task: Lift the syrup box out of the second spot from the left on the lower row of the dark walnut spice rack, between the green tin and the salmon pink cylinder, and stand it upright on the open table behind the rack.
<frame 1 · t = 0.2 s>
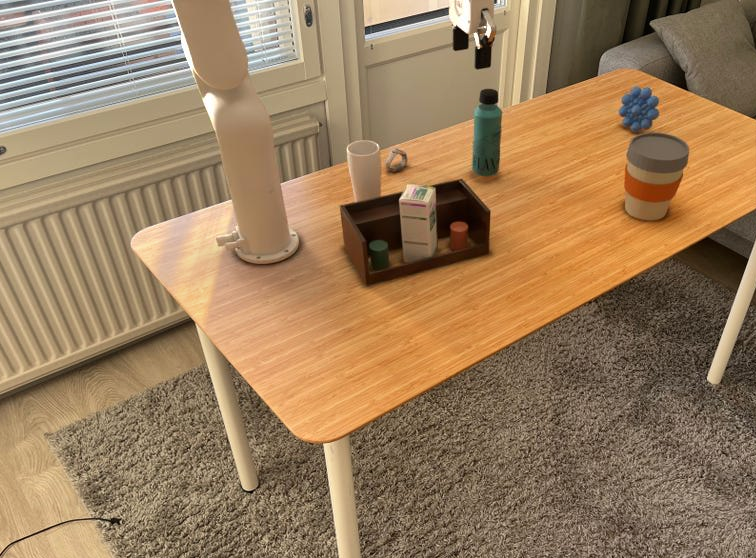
hand: (471, 58, 135), 31 cm above the table, tool pointing down, fingers open, 9 cm apart
spice rack: (416, 250, 143), on the table
salmon pink cylinder: (458, 246, 144), resting in spice rack
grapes: (636, 131, 183), on the table
green spice tin: (380, 266, 139), resting in spice rack
wristwatch: (396, 169, 167), on the table
syrup box: (420, 257, 142), resting in spice rack
drinking glass: (369, 212, 153), on the table
reusable coffee cup: (645, 210, 156), on the table
beverage bottle: (485, 176, 165), on the table
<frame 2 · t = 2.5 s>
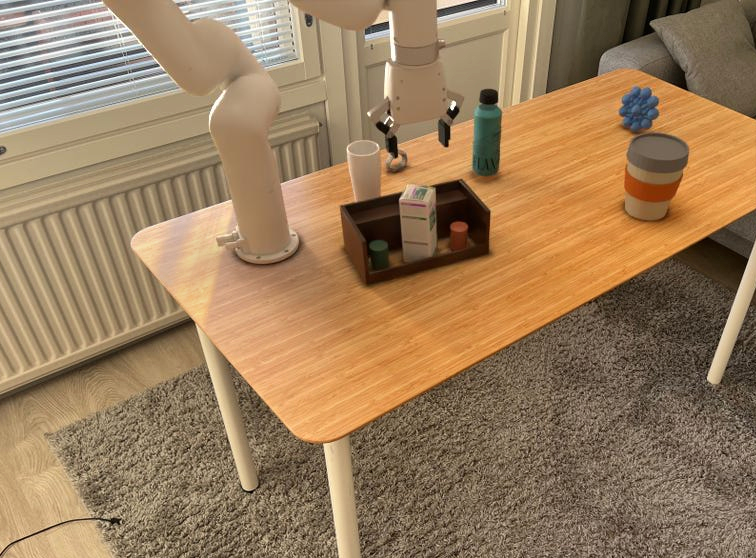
hand: (418, 149, 126), 23 cm above the table, tool pointing down, fingers open, 9 cm apart
nothing on the table moved.
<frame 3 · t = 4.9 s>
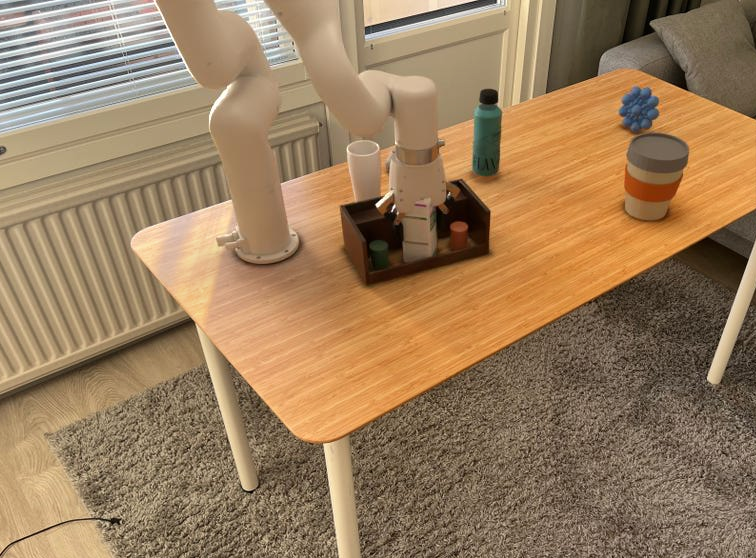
hand: (419, 233, 138), 6 cm above the table, tool pointing down, fingers closed on syrup box, 8 cm apart
syrup box: (420, 257, 142), resting in spice rack, touching gripper
everything else where it was.
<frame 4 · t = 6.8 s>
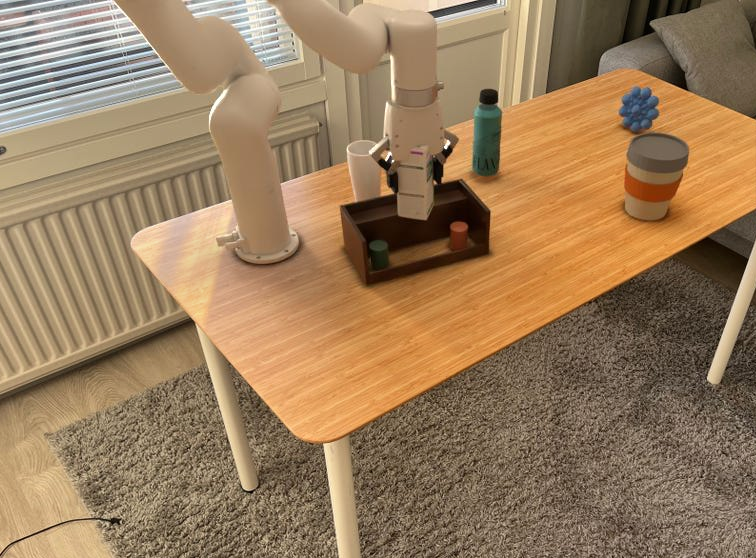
hand: (415, 185, 130), 16 cm above the table, tool pointing down, fingers closed on syrup box, 8 cm apart
syrup box: (415, 211, 134), point 10 cm above the table, touching gripper
everything else where it was.
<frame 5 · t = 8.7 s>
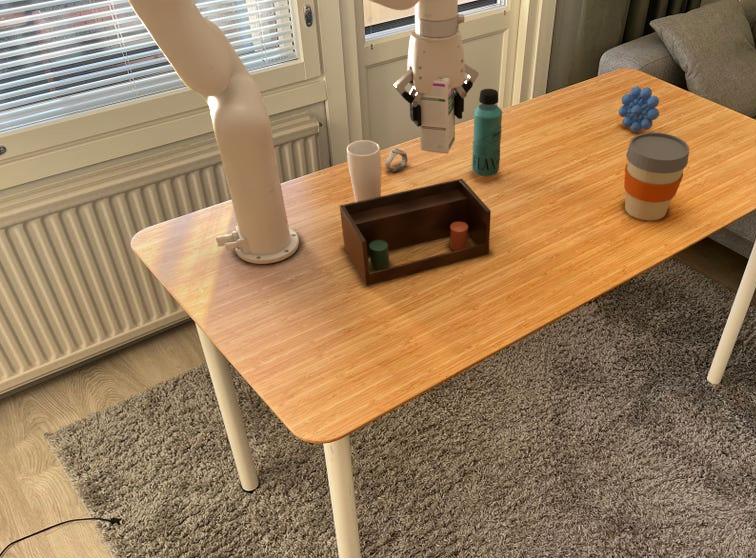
hand: (437, 119, 137), 22 cm above the table, tool pointing down, fingers closed on syrup box, 8 cm apart
syrup box: (437, 146, 141), point 16 cm above the table, touching gripper
everything else where it was.
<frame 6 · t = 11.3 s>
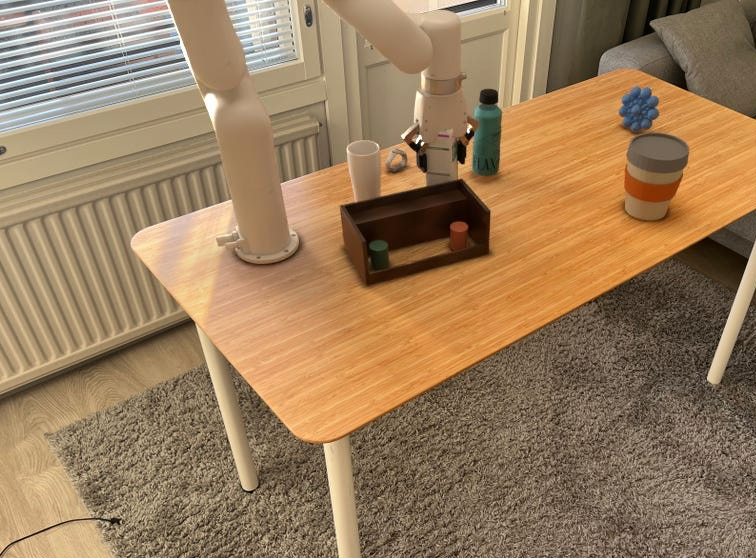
hand: (441, 165, 147), 10 cm above the table, tool pointing down, fingers closed on syrup box, 8 cm apart
syrup box: (441, 189, 151), point 5 cm above the table, touching gripper
everything else where it was.
when the fingers open (6 cm above the table, at t = 13.1 s): syrup box stays where it is, on the table.
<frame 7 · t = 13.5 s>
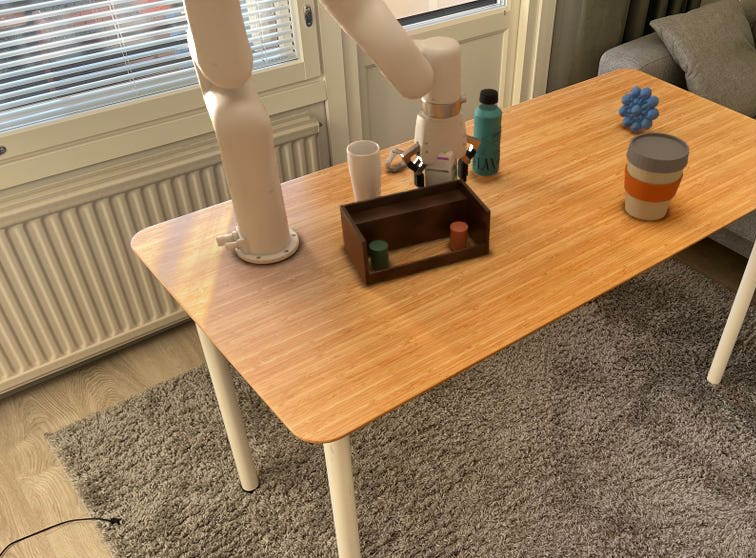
hand: (441, 183, 150), 6 cm above the table, tool pointing down, fingers open, 9 cm apart
syrup box: (441, 209, 154), on the table
everything else where it was.
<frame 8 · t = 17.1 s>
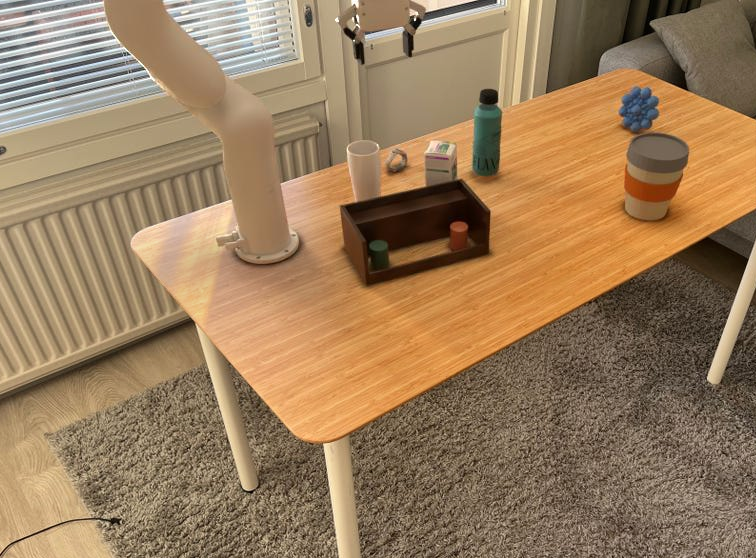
hand: (384, 58, 137), 30 cm above the table, tool pointing down, fingers open, 9 cm apart
nothing on the table moved.
at the end: syrup box inside the target area (0.0 cm from its centre), on the table; syrup box tilted 0°; the gripper is holding nothing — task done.
